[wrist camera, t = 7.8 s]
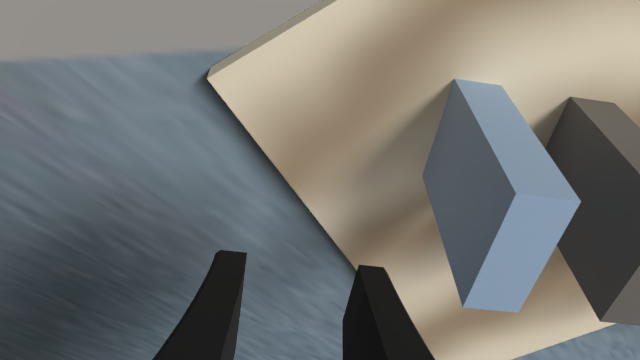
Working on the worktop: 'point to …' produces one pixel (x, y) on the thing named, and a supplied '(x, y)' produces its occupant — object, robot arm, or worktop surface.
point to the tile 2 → (602, 205)
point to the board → (426, 134)
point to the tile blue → (494, 197)
